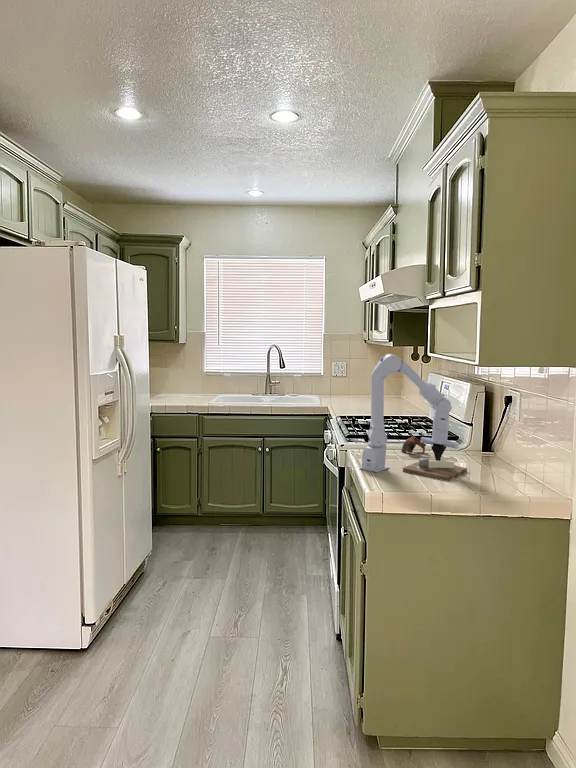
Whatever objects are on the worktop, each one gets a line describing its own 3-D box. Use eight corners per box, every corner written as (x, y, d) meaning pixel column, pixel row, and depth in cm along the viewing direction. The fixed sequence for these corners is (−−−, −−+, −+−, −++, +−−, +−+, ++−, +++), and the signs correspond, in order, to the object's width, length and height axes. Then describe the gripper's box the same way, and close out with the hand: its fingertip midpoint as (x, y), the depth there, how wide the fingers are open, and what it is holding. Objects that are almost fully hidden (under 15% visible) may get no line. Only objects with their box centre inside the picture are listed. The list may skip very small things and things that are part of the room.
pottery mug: (401, 450, 254) (411, 434, 254) (419, 462, 250) (429, 446, 250) (396, 448, 243) (407, 432, 243) (415, 461, 239) (426, 444, 239)
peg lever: (420, 468, 213) (421, 460, 213) (417, 465, 216) (417, 458, 216) (454, 468, 214) (455, 460, 214) (450, 466, 218) (451, 458, 218)
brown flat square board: (448, 481, 204) (448, 476, 204) (402, 471, 215) (402, 467, 215) (467, 471, 218) (467, 467, 218) (423, 463, 229) (423, 459, 229)
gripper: (462, 430, 215) (460, 465, 216) (427, 424, 224) (424, 458, 225) (455, 432, 209) (452, 468, 211) (419, 427, 218) (416, 461, 220)
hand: (437, 463), depth 218 cm, fingers closed, pressing on peg lever
